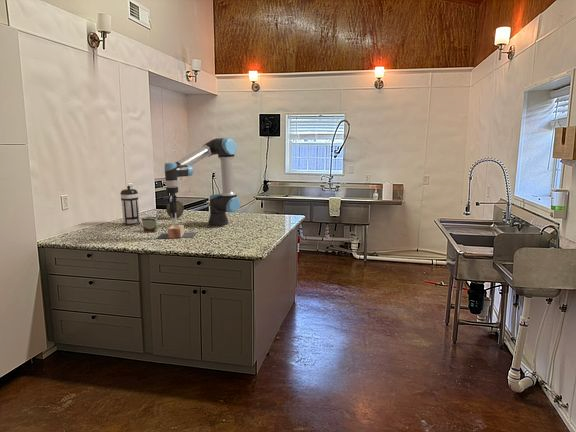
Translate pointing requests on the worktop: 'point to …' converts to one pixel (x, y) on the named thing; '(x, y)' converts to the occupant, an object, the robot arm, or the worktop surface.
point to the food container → (149, 224)
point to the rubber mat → (185, 235)
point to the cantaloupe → (179, 209)
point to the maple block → (176, 231)
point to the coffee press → (130, 206)
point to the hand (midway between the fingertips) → (174, 222)
